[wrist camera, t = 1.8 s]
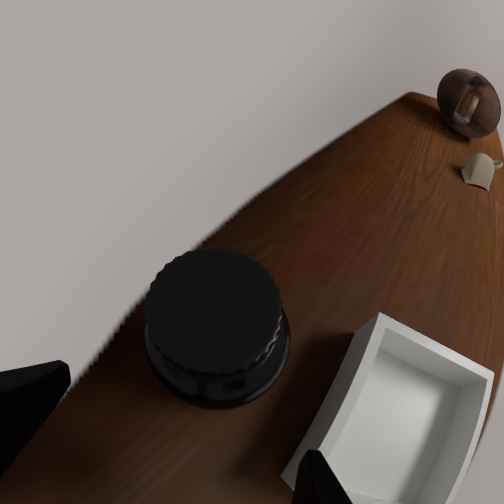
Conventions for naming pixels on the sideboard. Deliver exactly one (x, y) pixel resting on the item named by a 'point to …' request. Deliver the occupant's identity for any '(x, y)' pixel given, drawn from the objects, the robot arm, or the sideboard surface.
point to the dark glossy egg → (468, 103)
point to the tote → (399, 418)
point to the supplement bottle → (216, 329)
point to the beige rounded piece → (480, 170)
